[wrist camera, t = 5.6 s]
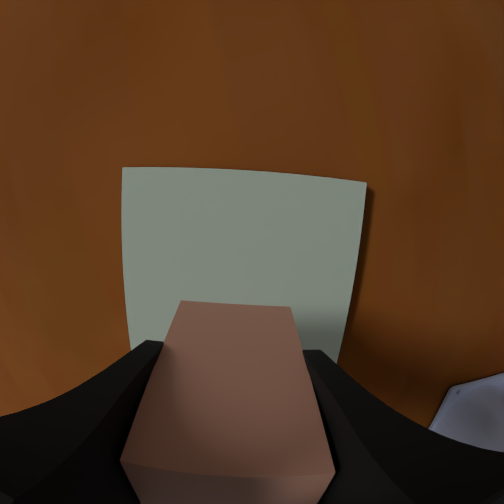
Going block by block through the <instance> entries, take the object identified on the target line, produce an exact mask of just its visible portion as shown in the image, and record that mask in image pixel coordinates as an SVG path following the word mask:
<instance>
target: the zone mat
mask: <svg viewBox="0 0 504 504" xmlns="http://www.w3.org/2000/svg"><path fill="white" fill-rule="evenodd" d="M366 184H367V183H365V182H358V181H351V180H343V179H335V178H326V177H318V176H308V175H298V174H287V173H276V172H263V171H248V170H231V169H210V168H173V167H128V168H123V170H122V256H123V274H124V289H125V301H126V311H127V321H128V330H129V338H130V345H131V350H133V349H134V348H135V347H137V346H138V345H139V344H141V343H142V342H144V341H145V340H154V341H163V342H164V340H165V338H166V335H167V333H168V330H169V328H170V325H171V323H172V321H173V318H174V316H175V313H176V311H177V308H178V306H179V304H180V301H181V300H184V301H197V302H211V303H227V304H244V305H264V306H288V307H291V311H292V314H293V318H294V321H295V325H296V328H297V332H298V335H299V339H300V342H301V346H302V349H303V350H322V351H323V352H324V353H325V354H326V355H327V356H328V357H330V358H331V359H332V360H333V361H334V362H335V363H336V364H337V360H338V356H339V352H340V347H341V343H342V338H343V334H344V329H345V325H346V320H347V315H348V310H349V305H350V300H351V294H352V289H353V283H354V277H355V271H356V265H357V259H358V252H359V245H360V238H361V230H362V222H363V214H364V205H365V195H366Z"/></svg>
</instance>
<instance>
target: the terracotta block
mask: <svg viewBox="0 0 504 504" xmlns="http://www.w3.org/2000/svg"><path fill="white" fill-rule="evenodd" d="M302 351H303V349H302V346H301V342H300V339H299V335H298V332H297V328H296V325H295V321H294V318H293V314H292V311H291V307H288V306H264V305H244V304H227V303H211V302H197V301H184V300H181V301H180V304H179V306H178V308H177V311H176V313H175V316H174V318H173V321H172V323H171V325H170V328H169V330H168V333H167V335H166V338H165V340H164V345H163V347H162V350H161V352H160V355H159V358H158V360H157V362H156V364H155V366H154V368H153V370H152V373H151V376H150V378H149V381H148V383H147V386H146V389H145V391H144V394H143V397H142V399H141V402H140V405H139V407H138V410H137V413H136V416H135V418H134V421H133V424H132V427H131V430H130V432H129V435H128V438H127V441H126V444H125V447H124V450H123V453H122V456H121V458H120V462H121V465H122V467H123V469H124V471H125V473H126V475H127V477H128V479H129V481H130V483H131V485H132V487H133V489H134V491H135V493H136V494H137V496H138V498H139V500H140V502H141V503H142V504H317V503H318V501H319V500H320V498H321V497H322V495H323V493H324V492H325V490H326V488H327V487H328V485H329V483H330V481H331V480H332V478H333V476H334V474H335V469H334V465H333V461H332V457H331V453H330V449H329V445H328V441H327V438H326V434H325V430H324V426H323V423H322V419H321V415H320V411H319V408H318V404H317V400H316V396H315V393H314V389H313V385H312V382H311V378H310V375H309V372H308V370H307V367H306V363H305V360H304V356H303V352H302Z"/></svg>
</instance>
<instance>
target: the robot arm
mask: <svg viewBox="0 0 504 504" xmlns="http://www.w3.org/2000/svg"><path fill="white" fill-rule="evenodd" d="M163 345H164V342H163V341H154V340H145V341H144V342H142V343H141V344H139V345H138V346H137V347H135V348H134V349H133V350H131V351H130V352H129V353H127V354H126V355H124V356H123V357H122V358H120V359H119V360H118V361H116V362H115V363H113V364H112V365H110V366H109V367H108V368H106V369H105V370H103V371H102V372H100V373H99V374H97V375H95V376H94V377H92V378H91V379H89V380H87V381H86V382H84V383H83V384H81V385H79V386H78V387H76V388H74V389H72V390H70V391H68V392H66V393H64V394H62V395H60V396H58V397H56V398H54V399H52V400H49V401H47V402H45V403H42V404H39V405H36V406H34V407H31V408H28V409H25V410H22V411H19V412H16V413H13V414H9V415H5V416H1V417H0V504H140V500H139V498H138V496H137V494H136V493H135V491H134V489H133V487H132V485H131V483H130V481H129V479H128V477H127V475H126V473H125V471H124V469H123V467H122V465H121V462H120V458H121V456H122V453H123V450H124V447H125V444H126V441H127V438H128V435H129V432H130V430H131V427H132V424H133V421H134V418H135V416H136V413H137V410H138V407H139V405H140V402H141V399H142V397H143V394H144V391H145V389H146V386H147V383H148V381H149V378H150V376H151V373H152V370H153V368H154V366H155V364H156V362H157V360H158V358H159V355H160V352H161V350H162V347H163ZM302 352H303V356H304V360H305V363H306V367H307V370H308V372H309V375H310V378H311V382H312V385H313V389H314V393H315V396H316V400H317V404H318V408H319V411H320V415H321V419H322V423H323V426H324V430H325V434H326V438H327V441H328V445H329V449H330V453H331V457H332V461H333V465H334V469H335V474H334V476H333V478H332V480H331V481H330V483H329V485H328V487H327V488H326V490H325V492H324V493H323V495H322V497H321V498H320V500H319V501H318V503H317V504H504V373H501V374H497V375H494V376H491V377H487V378H484V379H480V380H476V381H473V382H469V383H465V384H460V385H456V386H453V387H451V388H450V389H449V390H448V392H447V394H446V396H445V398H444V400H443V402H442V404H441V406H440V408H439V410H438V412H437V414H436V416H435V418H434V420H433V422H432V423H431V425H430V427H429V429H427V428H425V427H423V426H421V425H419V424H417V423H415V422H414V421H412V420H410V419H408V418H407V417H405V416H403V415H402V414H400V413H398V412H397V411H395V410H393V409H392V408H390V407H389V406H387V405H386V404H385V403H383V402H382V401H380V400H379V399H378V398H376V397H375V396H374V395H372V394H371V393H370V392H368V391H367V390H366V389H365V388H363V387H362V386H361V385H360V384H359V383H357V382H356V381H355V380H354V379H353V378H352V377H350V376H349V375H348V374H347V373H346V372H345V371H344V370H343V369H342V368H340V367H339V366H338V365H337V364H336V363H335V362H334V361H333V360H332V359H331V358H330V357H328V356H327V355H326V354H325V353H324V352H323V351H322V350H303V351H302Z"/></svg>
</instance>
